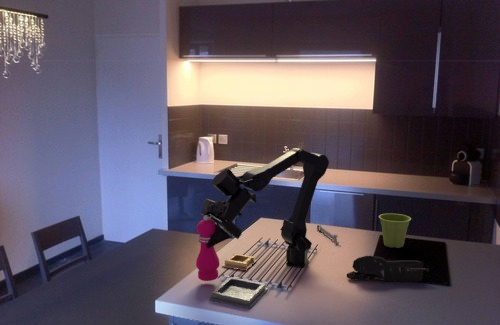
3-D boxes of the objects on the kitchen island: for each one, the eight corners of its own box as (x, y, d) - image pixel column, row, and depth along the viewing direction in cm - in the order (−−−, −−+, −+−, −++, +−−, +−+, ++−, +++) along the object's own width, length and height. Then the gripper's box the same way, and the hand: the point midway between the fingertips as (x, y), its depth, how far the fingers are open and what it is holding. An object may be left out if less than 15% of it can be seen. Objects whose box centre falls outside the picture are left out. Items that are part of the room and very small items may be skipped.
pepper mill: (216, 282, 135) (214, 219, 132) (193, 281, 137) (190, 218, 133) (222, 272, 142) (220, 212, 139) (200, 271, 144) (198, 211, 140)
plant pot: (412, 243, 176) (414, 215, 174) (405, 252, 166) (406, 223, 164) (382, 238, 182) (383, 211, 180) (373, 246, 172) (374, 218, 170)
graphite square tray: (267, 289, 136) (267, 283, 135) (249, 308, 124) (249, 301, 124) (229, 282, 141) (229, 276, 141) (208, 299, 129) (208, 292, 129)
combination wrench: (316, 222, 193) (336, 236, 174) (319, 222, 193) (339, 236, 174) (316, 231, 193) (336, 245, 174) (319, 231, 194) (339, 245, 174)
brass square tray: (256, 261, 158) (256, 256, 157) (245, 271, 149) (245, 265, 149) (233, 257, 161) (233, 252, 161) (222, 266, 153) (222, 260, 153)
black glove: (428, 285, 141) (430, 260, 140) (349, 284, 140) (351, 259, 138) (418, 275, 148) (421, 252, 146) (344, 275, 146) (345, 251, 145)
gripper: (205, 183, 145) (174, 221, 141) (231, 195, 129) (197, 238, 125) (227, 204, 150) (198, 241, 146) (255, 217, 134) (223, 260, 130)
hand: (203, 244), depth 137 cm, fingers closed on pepper mill, 5 cm apart
